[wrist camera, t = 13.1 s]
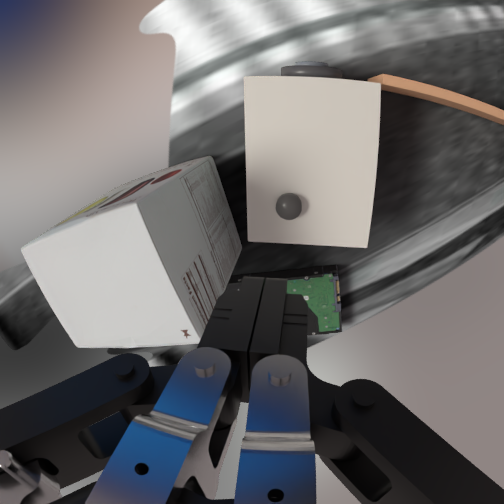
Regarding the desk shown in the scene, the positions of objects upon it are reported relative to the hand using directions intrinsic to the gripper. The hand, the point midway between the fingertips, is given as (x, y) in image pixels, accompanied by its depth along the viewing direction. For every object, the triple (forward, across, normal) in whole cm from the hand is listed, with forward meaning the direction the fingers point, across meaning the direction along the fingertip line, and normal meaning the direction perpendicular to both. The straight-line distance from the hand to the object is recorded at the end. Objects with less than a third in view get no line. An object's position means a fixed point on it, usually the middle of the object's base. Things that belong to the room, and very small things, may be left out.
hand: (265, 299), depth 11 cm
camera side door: (+27, -19, -9) cm, 34 cm away
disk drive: (+28, 0, +20) cm, 34 cm away
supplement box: (+27, +16, +8) cm, 33 cm away
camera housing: (+27, -2, -1) cm, 27 cm away
